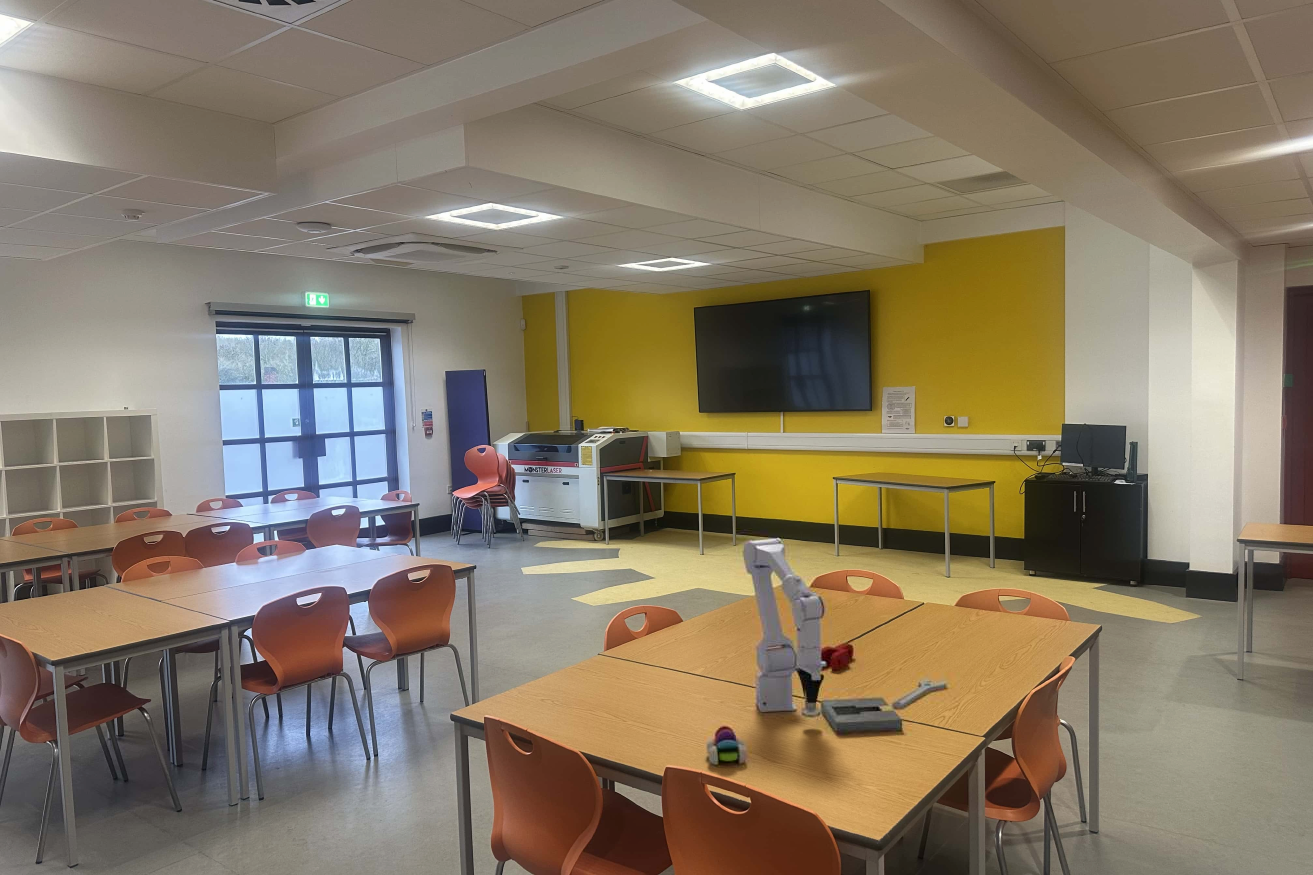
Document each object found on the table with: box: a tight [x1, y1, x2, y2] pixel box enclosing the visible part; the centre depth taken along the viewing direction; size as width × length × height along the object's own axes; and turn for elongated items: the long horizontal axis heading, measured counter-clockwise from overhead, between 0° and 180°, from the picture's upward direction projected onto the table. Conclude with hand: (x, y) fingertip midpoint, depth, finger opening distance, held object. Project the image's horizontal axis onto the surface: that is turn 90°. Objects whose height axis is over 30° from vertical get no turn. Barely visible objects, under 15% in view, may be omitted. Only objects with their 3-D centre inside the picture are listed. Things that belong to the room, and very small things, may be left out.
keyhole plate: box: [820, 696, 903, 735], centre depth 215 cm, size 16×16×3 cm
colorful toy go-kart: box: [706, 725, 748, 766], centre depth 194 cm, size 8×10×7 cm
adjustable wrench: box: [891, 678, 947, 710], centre depth 233 cm, size 25×6×2 cm, turn 132°
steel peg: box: [801, 693, 821, 718], centre depth 211 cm, size 4×4×8 cm
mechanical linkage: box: [821, 642, 854, 672], centre depth 263 cm, size 16×7×5 cm, turn 140°
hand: (810, 700), depth 211 cm, fingers closed on steel peg, 3 cm apart
